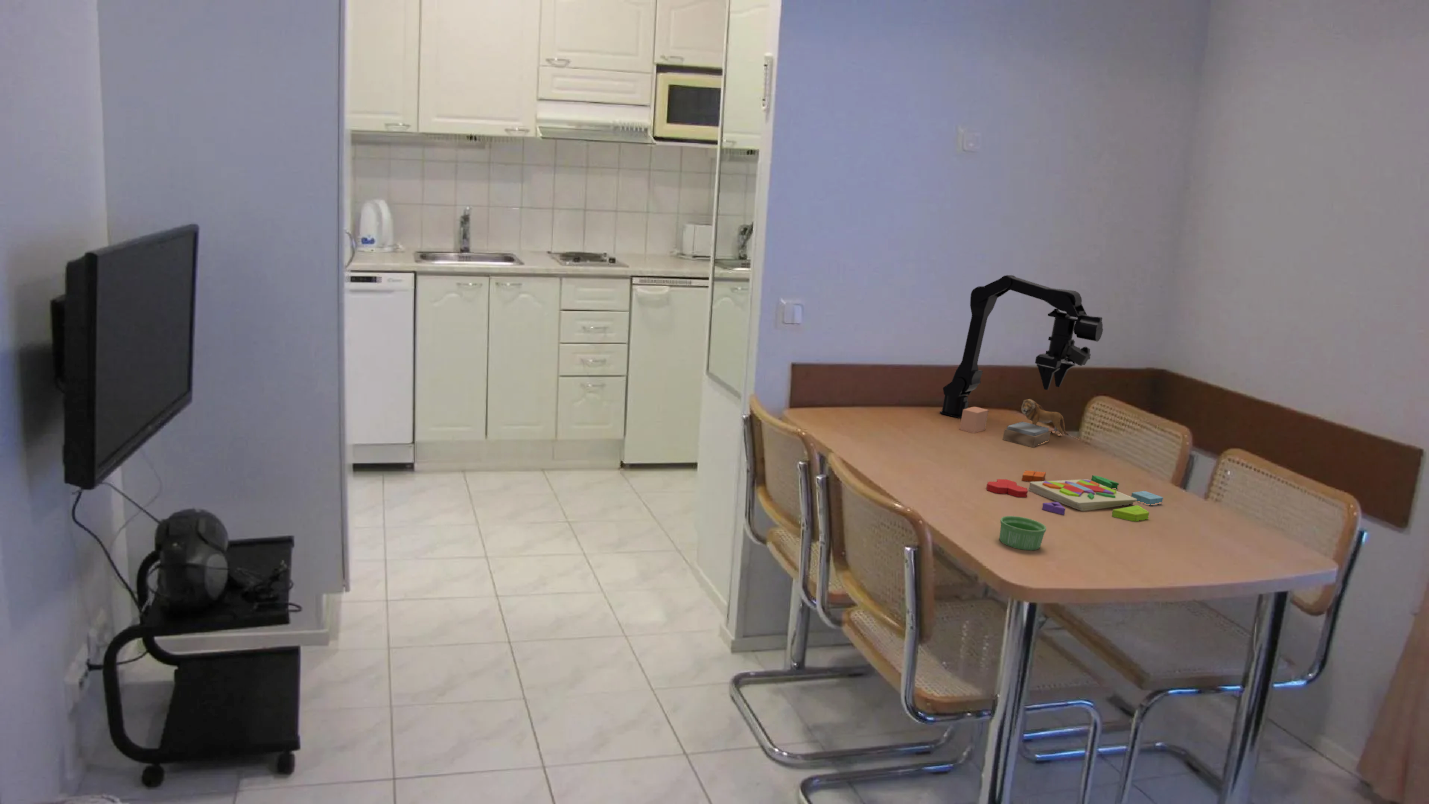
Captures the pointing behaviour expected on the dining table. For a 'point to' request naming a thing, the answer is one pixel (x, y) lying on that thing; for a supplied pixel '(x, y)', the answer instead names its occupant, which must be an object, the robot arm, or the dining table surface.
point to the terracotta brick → (974, 419)
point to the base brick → (1026, 434)
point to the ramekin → (1021, 532)
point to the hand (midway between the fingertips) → (1051, 388)
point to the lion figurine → (1042, 415)
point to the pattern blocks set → (1078, 494)
